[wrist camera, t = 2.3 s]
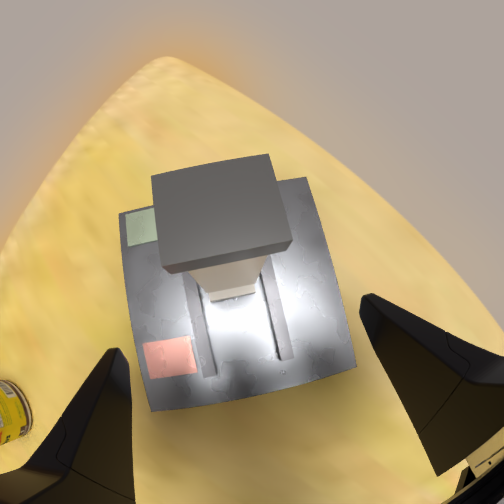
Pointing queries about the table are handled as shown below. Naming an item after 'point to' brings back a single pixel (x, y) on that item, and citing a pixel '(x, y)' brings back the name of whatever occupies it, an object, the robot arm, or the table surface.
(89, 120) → the table surface
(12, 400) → the supplement bottle
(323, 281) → the box
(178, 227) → the handle
